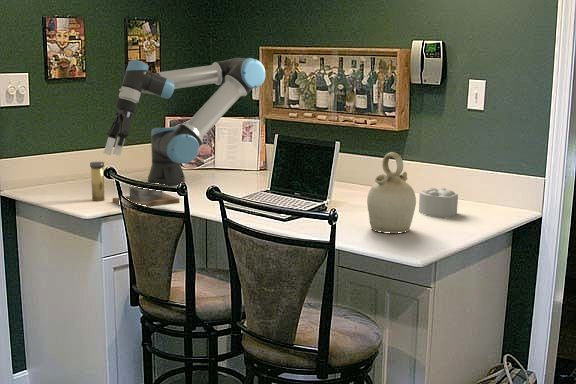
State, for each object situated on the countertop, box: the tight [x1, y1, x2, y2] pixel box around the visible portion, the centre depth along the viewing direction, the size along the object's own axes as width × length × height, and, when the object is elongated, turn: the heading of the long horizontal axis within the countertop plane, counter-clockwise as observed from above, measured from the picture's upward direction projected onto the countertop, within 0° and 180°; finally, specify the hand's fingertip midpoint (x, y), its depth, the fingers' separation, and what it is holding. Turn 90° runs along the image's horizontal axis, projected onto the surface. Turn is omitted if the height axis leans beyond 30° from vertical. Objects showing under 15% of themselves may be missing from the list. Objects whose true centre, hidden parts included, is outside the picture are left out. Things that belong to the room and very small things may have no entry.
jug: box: [366, 151, 417, 233], centre depth 235 cm, size 15×16×25 cm
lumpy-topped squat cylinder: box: [418, 187, 459, 218], centre depth 260 cm, size 10×13×9 cm
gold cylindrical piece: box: [89, 161, 105, 202], centre depth 273 cm, size 5×5×14 cm
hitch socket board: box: [112, 186, 181, 207], centre depth 271 cm, size 20×14×6 cm
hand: (111, 154), depth 278 cm, fingers open, 13 cm apart
